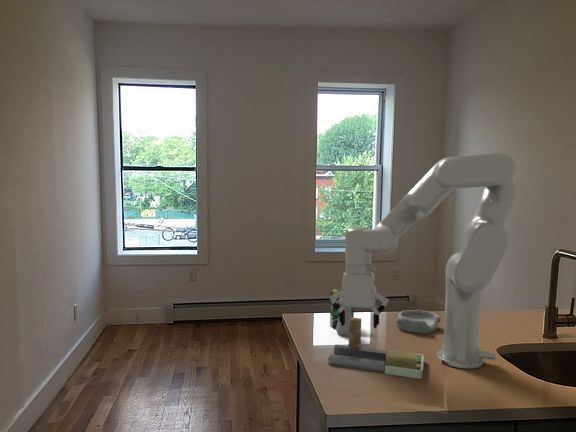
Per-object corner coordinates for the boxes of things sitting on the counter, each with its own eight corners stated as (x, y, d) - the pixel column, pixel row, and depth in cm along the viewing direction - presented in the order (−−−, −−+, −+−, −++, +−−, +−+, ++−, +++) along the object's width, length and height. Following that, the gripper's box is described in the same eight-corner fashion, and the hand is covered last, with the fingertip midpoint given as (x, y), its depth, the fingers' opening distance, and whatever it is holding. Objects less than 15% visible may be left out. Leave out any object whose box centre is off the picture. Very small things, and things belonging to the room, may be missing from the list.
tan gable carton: (360, 350, 143) (361, 317, 142) (358, 355, 139) (359, 322, 138) (350, 348, 144) (352, 316, 143) (348, 353, 140) (349, 320, 139)
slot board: (386, 361, 135) (387, 351, 134) (383, 375, 125) (383, 364, 125) (335, 354, 139) (335, 344, 139) (328, 367, 130) (328, 356, 129)
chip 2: (416, 367, 129) (417, 353, 129) (416, 373, 125) (416, 359, 125) (401, 365, 130) (402, 351, 130) (400, 371, 127) (401, 356, 126)
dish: (442, 327, 167) (443, 313, 167) (431, 338, 155) (432, 323, 155) (402, 319, 175) (403, 306, 174) (389, 329, 163) (389, 315, 163)
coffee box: (331, 328, 162) (332, 291, 161) (329, 325, 165) (330, 289, 164) (353, 327, 164) (355, 290, 163) (350, 324, 167) (352, 288, 166)
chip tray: (423, 364, 133) (423, 354, 133) (422, 382, 121) (422, 371, 121) (388, 360, 136) (389, 350, 135) (384, 377, 124) (385, 366, 124)
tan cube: (401, 365, 130) (402, 351, 130) (400, 371, 126) (401, 357, 126) (387, 363, 131) (387, 349, 131) (385, 369, 128) (386, 355, 127)
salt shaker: (353, 340, 151) (354, 300, 150) (335, 338, 152) (336, 299, 151) (354, 334, 157) (355, 296, 155) (337, 333, 158) (338, 295, 157)
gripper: (389, 267, 140) (389, 323, 142) (332, 265, 145) (333, 320, 147) (386, 272, 133) (387, 331, 134) (326, 270, 138) (328, 327, 140)
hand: (359, 325), depth 141 cm, fingers open, 9 cm apart
